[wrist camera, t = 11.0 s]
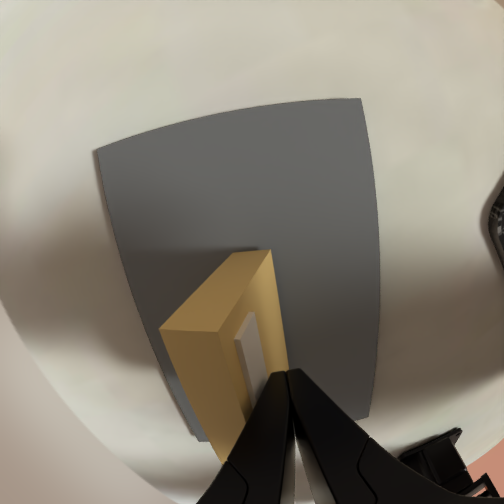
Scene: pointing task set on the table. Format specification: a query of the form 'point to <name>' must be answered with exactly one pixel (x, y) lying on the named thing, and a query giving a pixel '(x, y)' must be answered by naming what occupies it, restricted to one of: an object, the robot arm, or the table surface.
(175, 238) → the charcoal mat
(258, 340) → the ochre block
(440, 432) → the table surface
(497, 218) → the phone
